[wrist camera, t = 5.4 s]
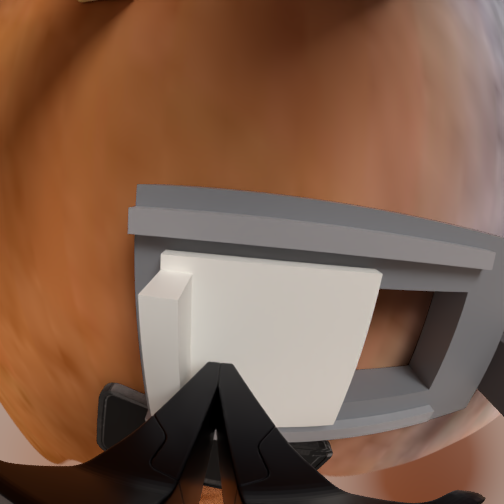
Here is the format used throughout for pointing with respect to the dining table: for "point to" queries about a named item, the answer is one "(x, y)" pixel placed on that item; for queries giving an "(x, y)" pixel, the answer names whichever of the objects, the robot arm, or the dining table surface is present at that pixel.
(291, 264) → the shutter
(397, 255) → the socket plate
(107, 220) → the dining table surface
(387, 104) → the dining table surface
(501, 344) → the plug
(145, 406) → the phone
